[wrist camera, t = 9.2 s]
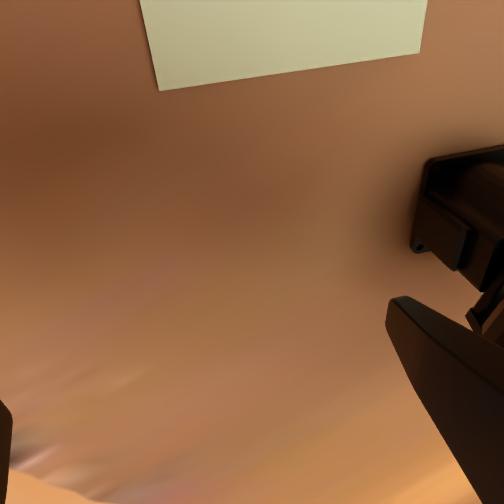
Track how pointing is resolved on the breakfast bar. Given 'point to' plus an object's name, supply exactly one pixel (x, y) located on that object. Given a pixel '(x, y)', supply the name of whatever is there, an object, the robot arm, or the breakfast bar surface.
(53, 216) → the breakfast bar surface
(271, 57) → the mat
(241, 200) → the breakfast bar surface
